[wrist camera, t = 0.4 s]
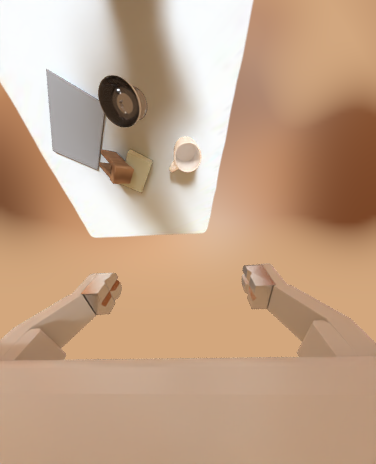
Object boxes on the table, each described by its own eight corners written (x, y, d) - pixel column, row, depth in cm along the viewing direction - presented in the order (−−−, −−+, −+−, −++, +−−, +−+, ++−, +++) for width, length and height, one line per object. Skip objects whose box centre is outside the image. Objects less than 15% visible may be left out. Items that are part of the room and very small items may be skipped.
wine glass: (113, 91, 38) (88, 86, 27) (138, 77, 36) (123, 66, 25) (130, 126, 43) (116, 133, 32) (153, 114, 41) (146, 118, 30)
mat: (48, 69, 34) (46, 69, 33) (105, 104, 39) (104, 104, 38) (54, 150, 45) (52, 150, 45) (98, 169, 50) (97, 169, 50)
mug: (177, 173, 54) (177, 184, 46) (161, 156, 49) (159, 165, 42) (201, 151, 49) (206, 159, 42) (187, 129, 45) (190, 134, 37)
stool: (105, 146, 46) (90, 155, 38) (137, 163, 50) (131, 174, 42) (102, 162, 49) (89, 173, 41) (134, 176, 53) (127, 189, 45)
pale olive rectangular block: (130, 149, 47) (127, 152, 44) (152, 160, 50) (151, 164, 47) (123, 179, 54) (120, 184, 51) (143, 188, 57) (141, 193, 54)
